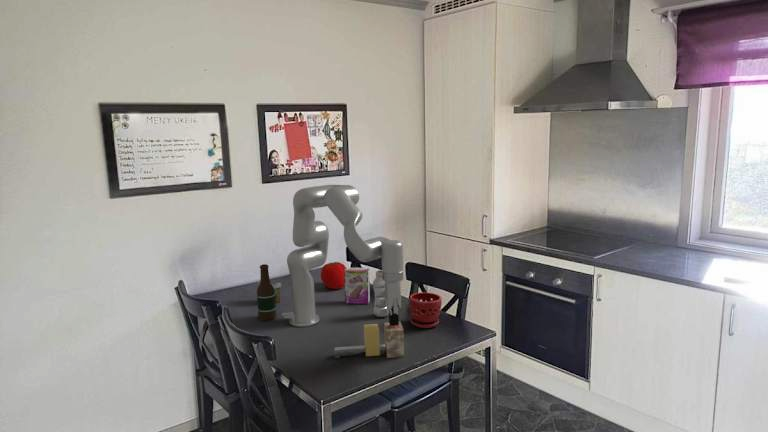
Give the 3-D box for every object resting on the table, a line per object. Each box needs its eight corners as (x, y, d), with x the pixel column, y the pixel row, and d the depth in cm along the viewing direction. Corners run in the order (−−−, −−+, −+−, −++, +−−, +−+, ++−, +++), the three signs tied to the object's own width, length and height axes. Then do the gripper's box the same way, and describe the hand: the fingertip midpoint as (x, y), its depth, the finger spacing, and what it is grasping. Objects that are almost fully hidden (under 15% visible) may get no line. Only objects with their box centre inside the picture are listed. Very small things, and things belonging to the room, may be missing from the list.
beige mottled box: (387, 358, 179) (386, 331, 177) (384, 348, 187) (384, 322, 185) (404, 357, 179) (403, 330, 178) (400, 347, 188) (400, 321, 186)
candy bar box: (345, 304, 234) (343, 270, 231) (346, 300, 239) (345, 267, 236) (368, 304, 233) (367, 270, 230) (370, 300, 238) (369, 267, 235)
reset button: (390, 337, 181) (390, 326, 180) (389, 334, 184) (389, 323, 183) (398, 336, 181) (398, 325, 180) (397, 333, 184) (396, 322, 183)
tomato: (347, 292, 252) (346, 265, 249) (319, 292, 252) (318, 266, 249) (349, 282, 267) (348, 257, 265) (323, 282, 267) (322, 257, 265)
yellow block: (365, 356, 180) (365, 330, 178) (364, 350, 185) (363, 324, 183) (379, 355, 180) (379, 329, 178) (378, 349, 185) (377, 323, 184)
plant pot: (432, 332, 200) (432, 303, 198) (404, 326, 207) (403, 298, 205) (446, 321, 211) (446, 294, 209) (419, 316, 218) (418, 289, 216)
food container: (253, 303, 238) (251, 283, 236) (260, 299, 243) (259, 279, 242) (275, 306, 233) (273, 286, 231) (282, 302, 239) (281, 282, 237)
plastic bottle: (387, 319, 215) (386, 274, 211) (372, 318, 216) (370, 273, 213) (390, 313, 221) (389, 269, 218) (375, 313, 222) (374, 269, 219)
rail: (334, 358, 180) (334, 350, 179) (334, 355, 182) (334, 347, 182) (387, 354, 182) (387, 346, 181) (386, 351, 184) (386, 343, 184)
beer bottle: (259, 315, 222) (256, 263, 218) (277, 314, 223) (274, 262, 219) (257, 322, 215) (253, 268, 211) (275, 321, 215) (272, 267, 211)
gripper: (379, 270, 185) (381, 317, 188) (384, 282, 171) (386, 333, 174) (400, 269, 186) (401, 316, 189) (406, 281, 171) (407, 332, 175)
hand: (394, 324), depth 181 cm, fingers closed
